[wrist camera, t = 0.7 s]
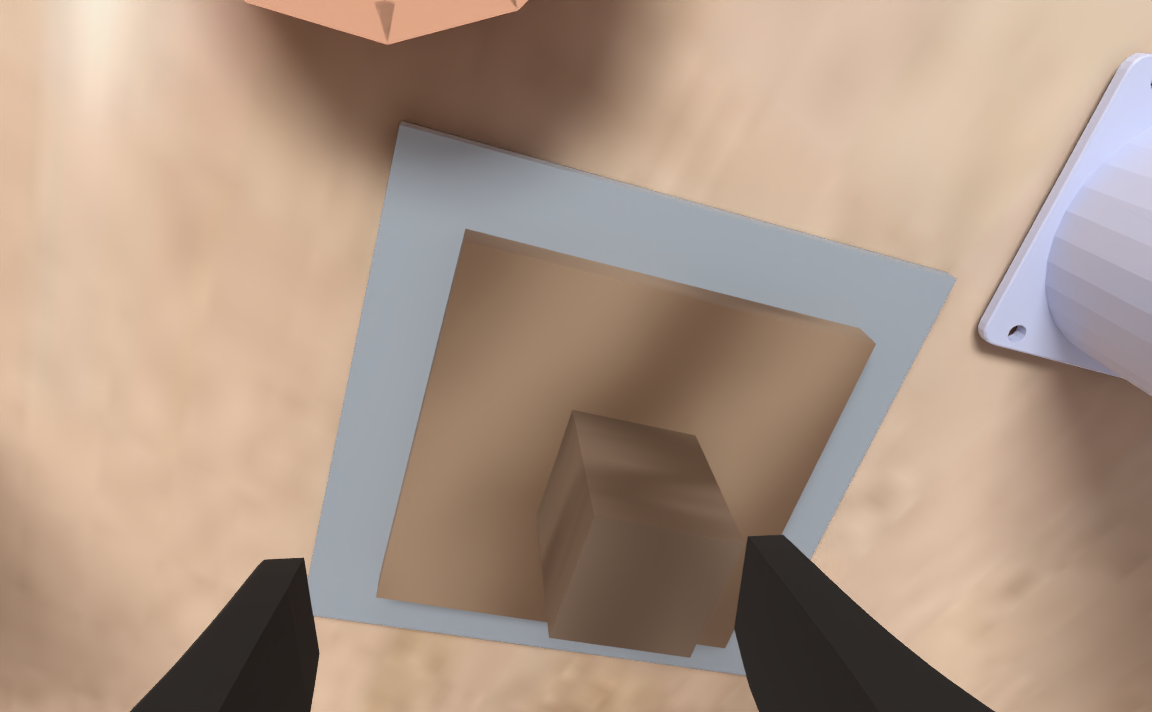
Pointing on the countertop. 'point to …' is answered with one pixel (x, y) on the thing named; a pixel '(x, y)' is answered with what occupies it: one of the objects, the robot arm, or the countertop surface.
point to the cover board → (606, 367)
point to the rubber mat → (603, 234)
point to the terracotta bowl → (391, 15)
